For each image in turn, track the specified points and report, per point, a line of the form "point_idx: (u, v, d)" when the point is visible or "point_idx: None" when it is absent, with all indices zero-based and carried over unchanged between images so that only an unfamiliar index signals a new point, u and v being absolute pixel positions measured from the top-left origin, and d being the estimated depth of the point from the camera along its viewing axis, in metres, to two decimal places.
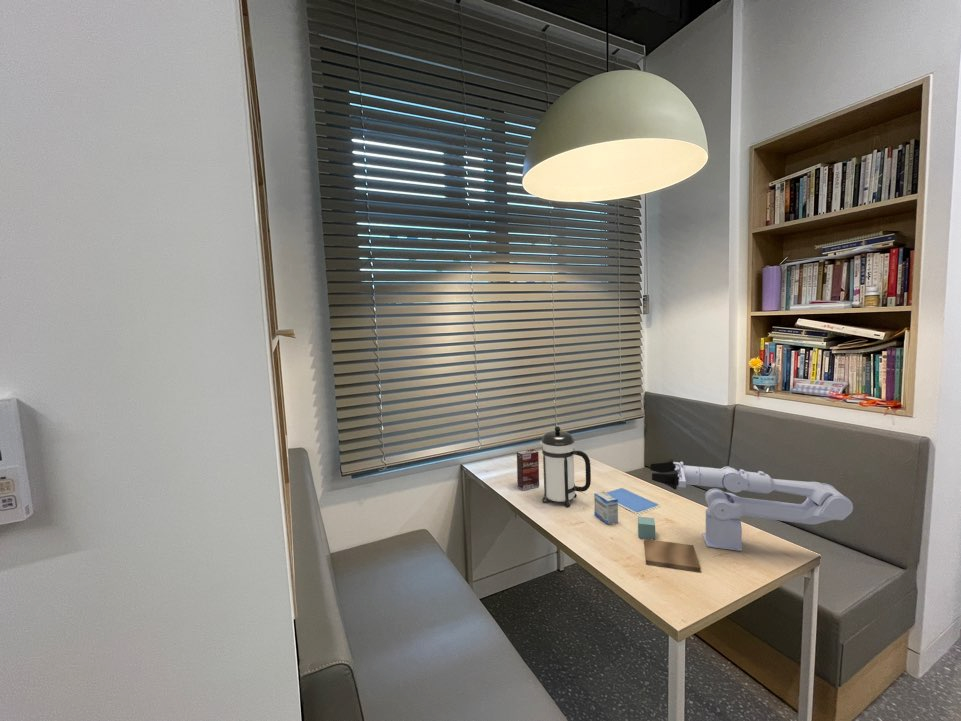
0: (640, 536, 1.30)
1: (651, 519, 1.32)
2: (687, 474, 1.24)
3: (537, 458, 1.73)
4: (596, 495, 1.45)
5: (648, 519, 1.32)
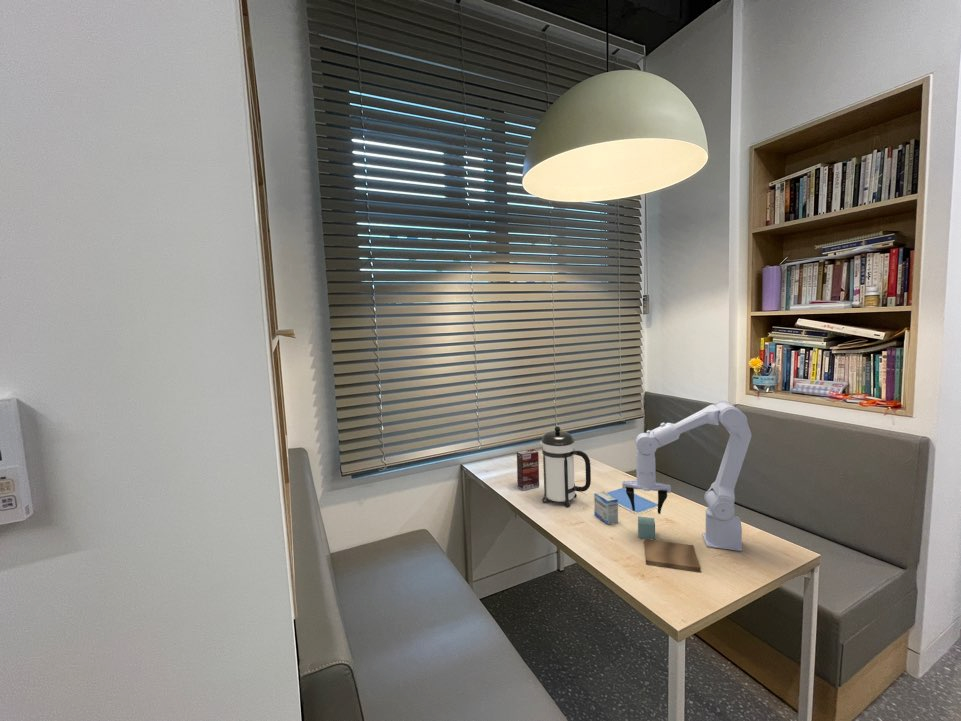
0: (640, 536, 1.30)
1: (651, 519, 1.32)
2: (654, 483, 1.28)
3: (537, 458, 1.73)
4: (596, 495, 1.45)
5: (648, 519, 1.32)
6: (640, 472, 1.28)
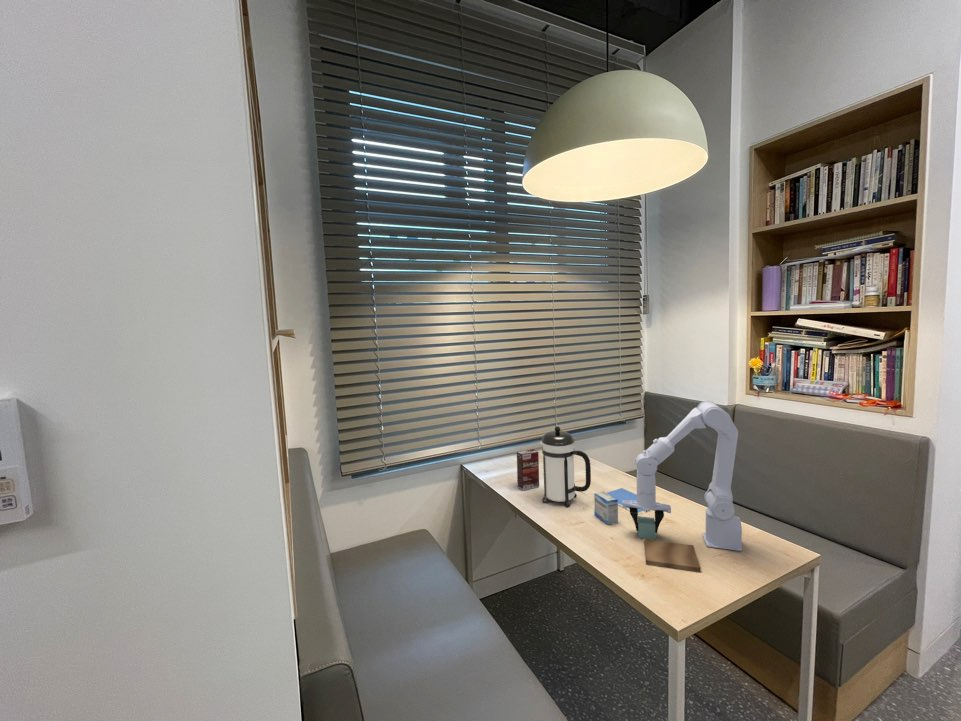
0: (640, 536, 1.30)
1: (651, 519, 1.32)
2: (655, 503, 1.29)
3: (537, 458, 1.73)
4: (596, 495, 1.45)
5: (648, 519, 1.32)
6: (640, 492, 1.29)
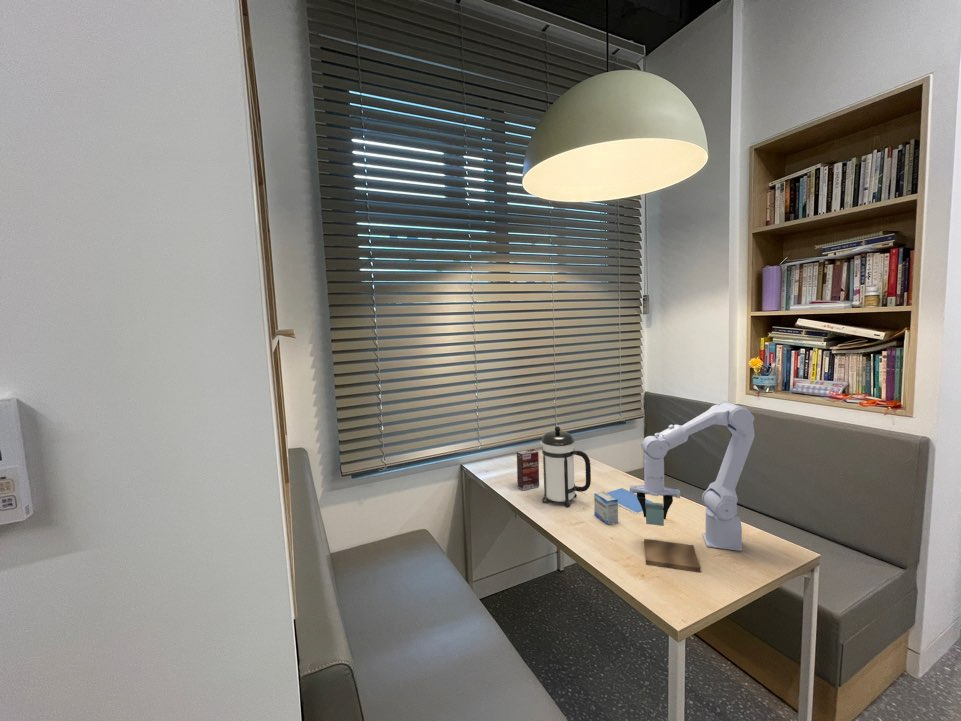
0: (648, 522, 1.25)
1: (659, 504, 1.27)
2: (663, 487, 1.24)
3: (537, 458, 1.73)
4: (596, 495, 1.45)
5: (656, 504, 1.27)
6: (648, 476, 1.24)
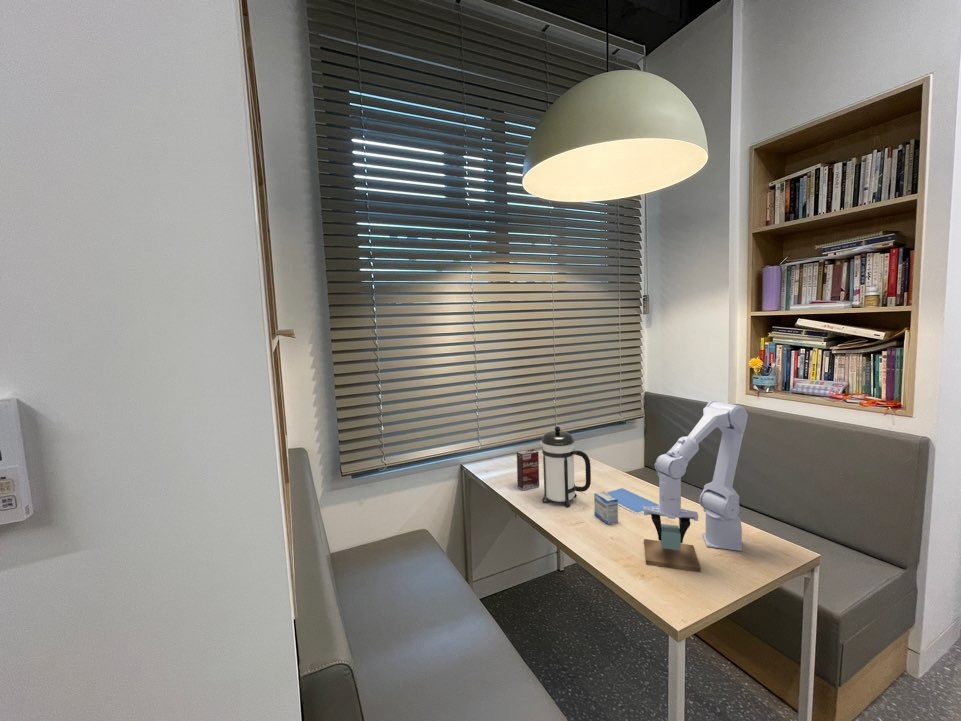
0: (663, 546, 1.17)
1: (675, 527, 1.19)
2: (680, 509, 1.16)
3: (537, 458, 1.73)
4: (596, 495, 1.45)
5: (672, 527, 1.20)
6: (664, 498, 1.16)
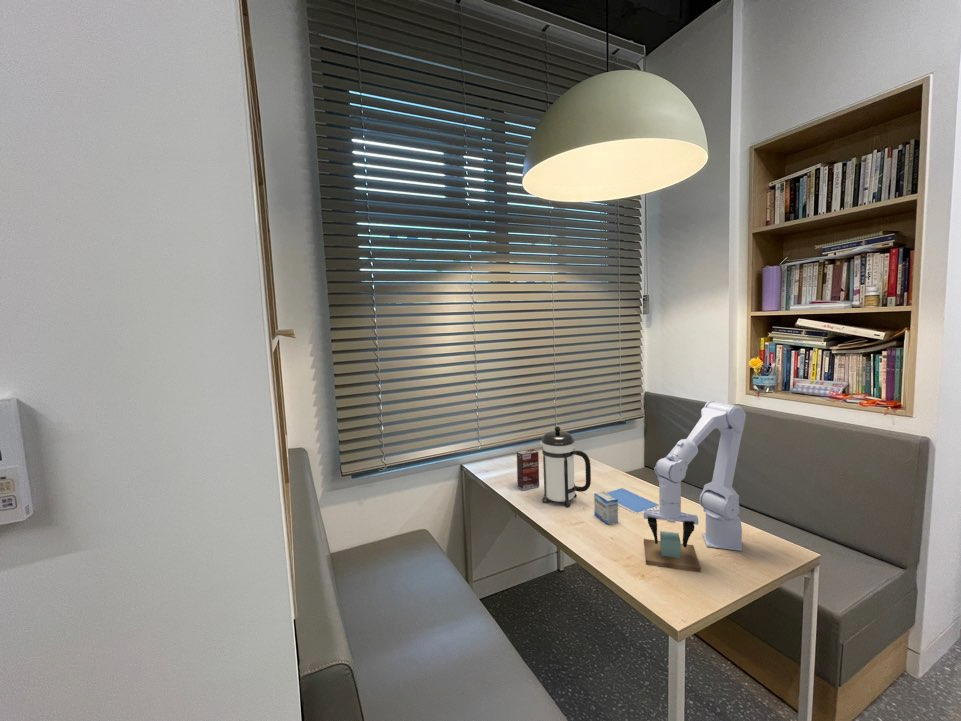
0: (663, 553, 1.18)
1: (675, 534, 1.20)
2: (680, 513, 1.16)
3: (537, 458, 1.73)
4: (596, 495, 1.45)
5: (672, 534, 1.20)
6: (664, 501, 1.16)
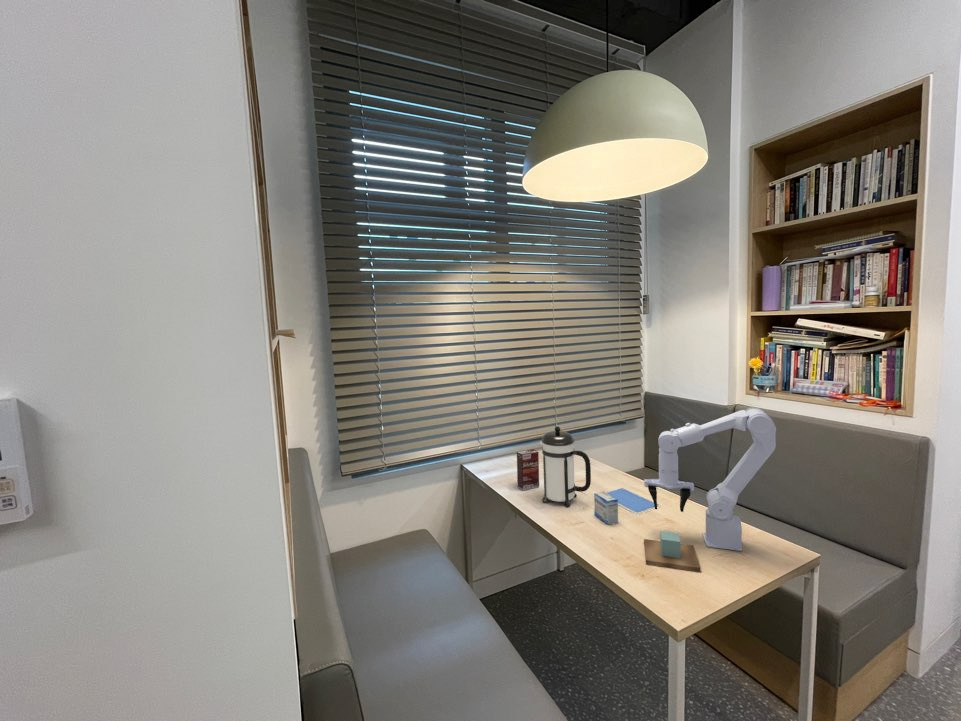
0: (663, 553, 1.18)
1: (675, 534, 1.20)
2: (677, 481, 1.28)
3: (537, 458, 1.73)
4: (596, 495, 1.45)
5: (672, 534, 1.20)
6: (663, 470, 1.28)
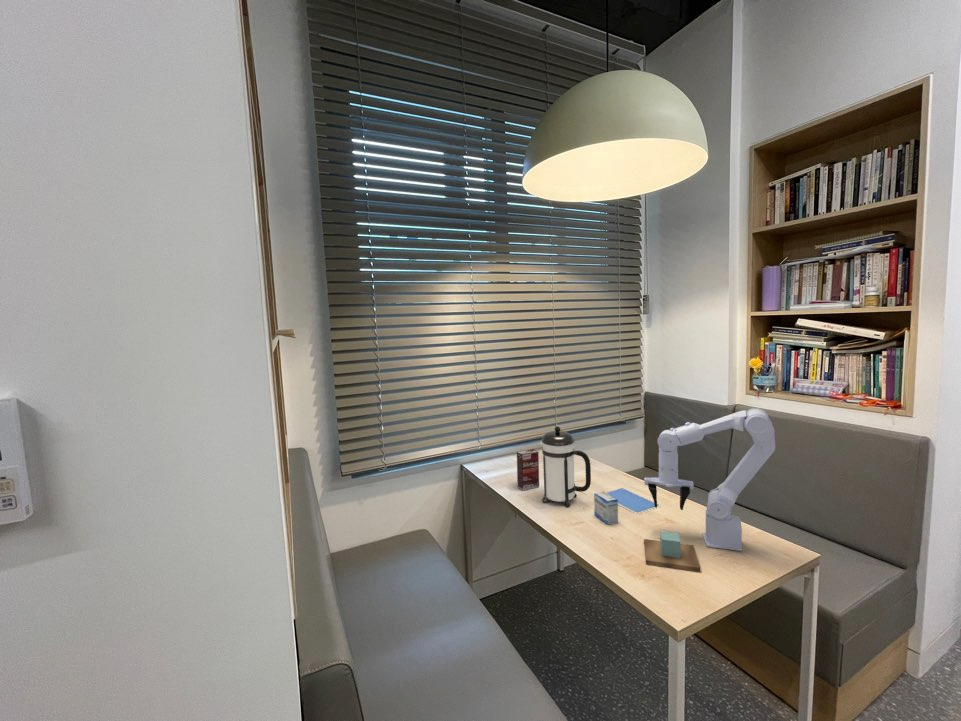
0: (663, 553, 1.18)
1: (675, 534, 1.20)
2: (677, 479, 1.30)
3: (537, 458, 1.73)
4: (596, 495, 1.45)
5: (672, 534, 1.20)
6: (663, 468, 1.30)
